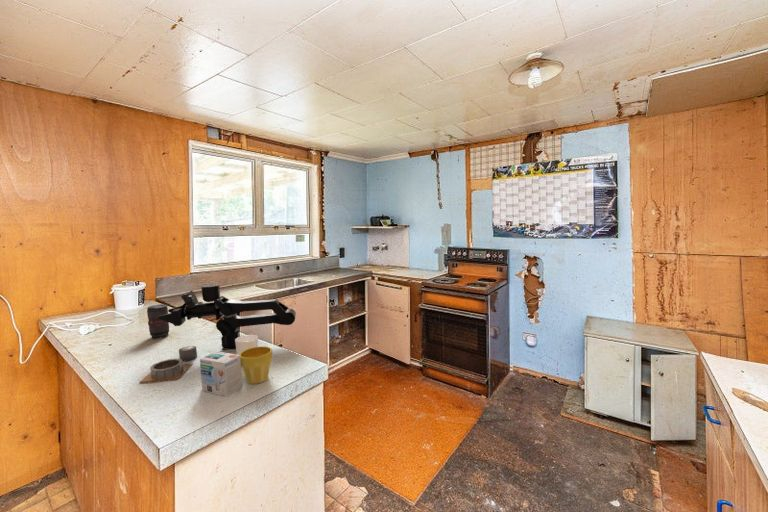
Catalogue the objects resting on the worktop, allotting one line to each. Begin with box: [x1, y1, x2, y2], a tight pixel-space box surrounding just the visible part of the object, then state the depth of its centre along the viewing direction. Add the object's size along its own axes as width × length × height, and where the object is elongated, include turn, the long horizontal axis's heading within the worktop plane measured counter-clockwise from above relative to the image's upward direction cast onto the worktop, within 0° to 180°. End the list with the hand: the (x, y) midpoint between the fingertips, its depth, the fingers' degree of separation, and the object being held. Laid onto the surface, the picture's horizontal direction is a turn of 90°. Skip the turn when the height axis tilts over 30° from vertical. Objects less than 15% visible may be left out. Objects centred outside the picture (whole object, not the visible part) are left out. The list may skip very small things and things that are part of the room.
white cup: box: [235, 334, 259, 368], centre depth 123 cm, size 8×8×10 cm
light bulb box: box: [199, 350, 243, 397], centre depth 105 cm, size 11×7×11 cm, turn 69°
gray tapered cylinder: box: [178, 345, 198, 363], centre depth 130 cm, size 6×6×4 cm
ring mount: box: [139, 358, 193, 384], centre depth 117 cm, size 12×12×3 cm
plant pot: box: [239, 346, 273, 385], centre depth 110 cm, size 10×10×10 cm
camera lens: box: [146, 303, 170, 340], centre depth 155 cm, size 8×8×15 cm
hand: (163, 314), depth 135 cm, fingers open, 9 cm apart
